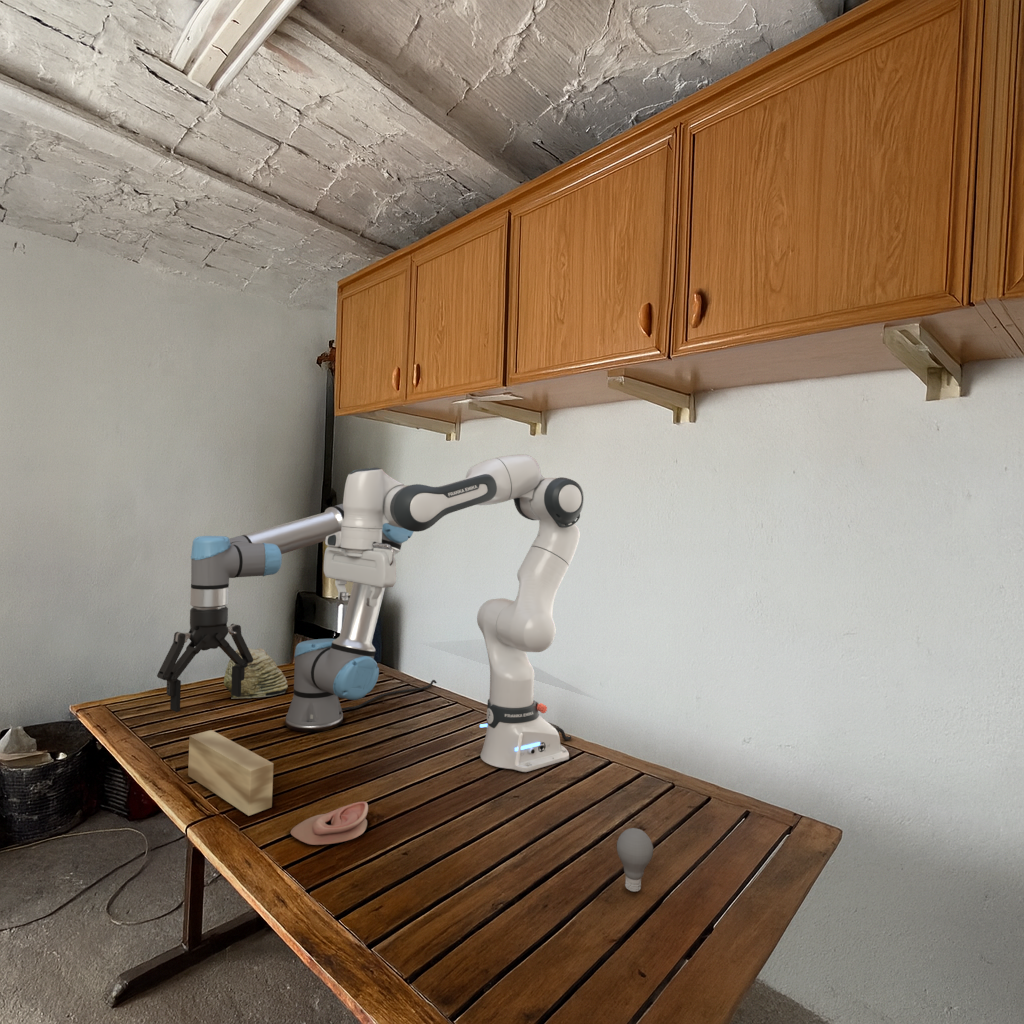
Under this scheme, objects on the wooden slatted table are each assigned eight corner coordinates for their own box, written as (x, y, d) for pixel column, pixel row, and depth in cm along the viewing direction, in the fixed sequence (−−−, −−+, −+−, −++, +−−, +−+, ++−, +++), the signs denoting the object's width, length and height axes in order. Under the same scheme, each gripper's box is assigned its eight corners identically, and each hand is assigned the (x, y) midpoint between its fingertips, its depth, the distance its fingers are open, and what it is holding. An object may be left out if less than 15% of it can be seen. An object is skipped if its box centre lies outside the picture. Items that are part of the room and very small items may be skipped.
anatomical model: (282, 818, 116) (314, 791, 127) (281, 840, 116) (313, 810, 127) (349, 829, 113) (375, 800, 125) (348, 851, 113) (374, 820, 125)
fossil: (219, 695, 195) (221, 647, 195) (279, 686, 207) (281, 640, 207) (229, 703, 188) (231, 653, 188) (290, 693, 201) (292, 646, 200)
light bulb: (610, 878, 109) (613, 821, 108) (645, 878, 109) (647, 821, 109) (619, 901, 103) (622, 840, 103) (655, 900, 103) (658, 839, 103)
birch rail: (210, 768, 145) (211, 729, 145) (272, 807, 128) (273, 763, 128) (187, 775, 141) (189, 735, 141) (248, 816, 125) (250, 770, 124)
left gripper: (252, 598, 151) (250, 686, 152) (140, 611, 131) (138, 712, 132) (270, 602, 147) (267, 693, 147) (157, 616, 127) (155, 721, 127)
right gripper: (405, 544, 136) (400, 608, 136) (342, 537, 148) (338, 596, 148) (383, 544, 131) (378, 611, 131) (320, 536, 143) (316, 598, 143)
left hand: (206, 702), depth 139 cm, fingers open, 13 cm apart
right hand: (357, 603), depth 139 cm, fingers open, 8 cm apart
